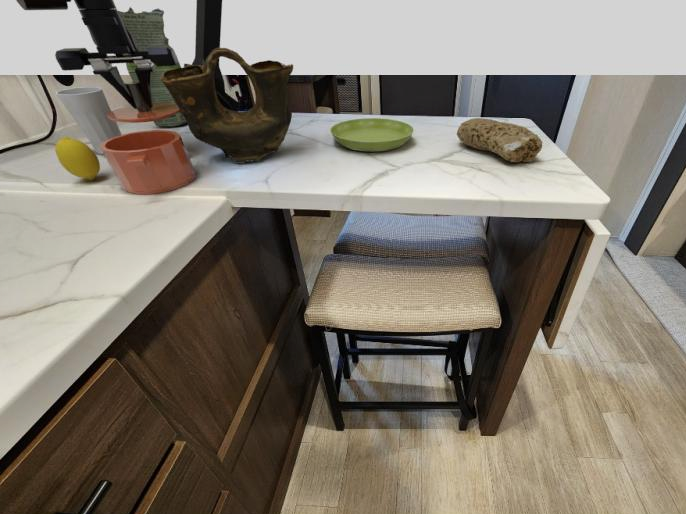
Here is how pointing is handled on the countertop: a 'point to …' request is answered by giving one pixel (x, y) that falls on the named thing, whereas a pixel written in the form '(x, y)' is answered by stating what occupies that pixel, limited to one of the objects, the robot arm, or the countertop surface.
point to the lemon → (77, 158)
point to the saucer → (372, 134)
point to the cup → (90, 113)
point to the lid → (142, 108)
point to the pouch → (147, 34)
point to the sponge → (500, 139)
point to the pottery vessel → (226, 125)
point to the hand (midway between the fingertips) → (143, 107)
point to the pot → (149, 161)
